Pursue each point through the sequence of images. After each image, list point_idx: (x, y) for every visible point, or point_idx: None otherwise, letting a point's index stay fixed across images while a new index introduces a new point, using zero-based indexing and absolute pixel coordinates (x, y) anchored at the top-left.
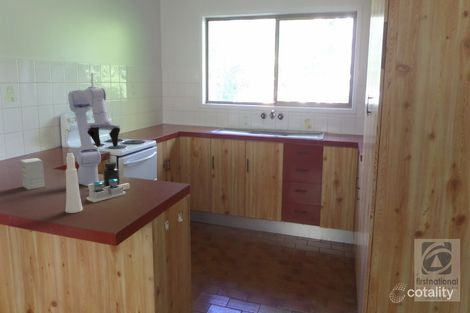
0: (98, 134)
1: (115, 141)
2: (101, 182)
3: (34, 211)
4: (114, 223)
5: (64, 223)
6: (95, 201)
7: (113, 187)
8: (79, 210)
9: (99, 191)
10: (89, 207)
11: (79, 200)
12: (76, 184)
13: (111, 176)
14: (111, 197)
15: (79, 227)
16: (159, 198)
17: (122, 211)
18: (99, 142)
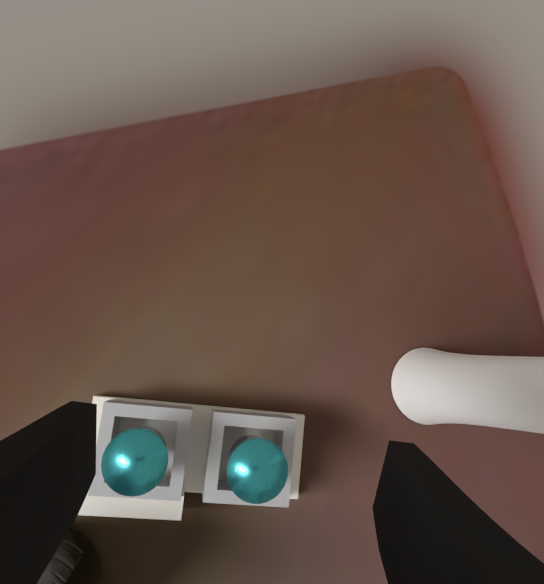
0: (502, 579)
1: (59, 453)
2: (237, 461)
3: (540, 524)
4: (409, 123)
5: (522, 279)
6: (293, 413)
7: (156, 432)
8: (423, 348)
9: (260, 437)
10: (360, 363)
11: (439, 356)
12: (508, 356)
13: (55, 578)
14: (195, 404)
15: (507, 200)
16: (52, 178)
17: (305, 194)
18: (421, 462)
